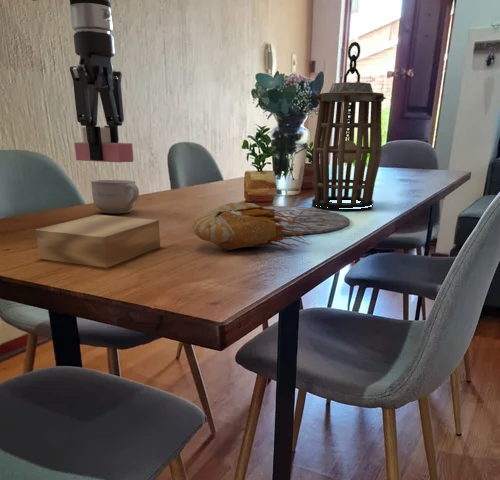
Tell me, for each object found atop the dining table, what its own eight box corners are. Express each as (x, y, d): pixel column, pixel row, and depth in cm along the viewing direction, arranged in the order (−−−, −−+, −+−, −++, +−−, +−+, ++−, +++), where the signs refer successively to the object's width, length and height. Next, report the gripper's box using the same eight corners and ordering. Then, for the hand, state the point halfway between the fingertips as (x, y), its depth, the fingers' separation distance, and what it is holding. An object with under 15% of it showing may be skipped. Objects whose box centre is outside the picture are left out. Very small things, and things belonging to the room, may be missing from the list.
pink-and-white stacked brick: (76, 160, 108) (72, 127, 105) (91, 158, 112) (88, 126, 109) (125, 162, 103) (123, 128, 101) (139, 161, 108) (137, 128, 105)
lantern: (387, 205, 144) (405, 43, 128) (363, 215, 129) (379, 33, 113) (324, 199, 153) (334, 48, 138) (295, 207, 138) (302, 39, 122)
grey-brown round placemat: (368, 214, 128) (368, 213, 128) (317, 241, 100) (317, 239, 100) (251, 204, 143) (251, 202, 142) (178, 224, 114) (178, 223, 114)
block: (39, 258, 87) (35, 229, 85) (99, 240, 100) (96, 214, 98) (107, 268, 82) (103, 237, 80) (160, 246, 95) (158, 220, 93)
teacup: (86, 212, 130) (83, 179, 127) (124, 207, 137) (121, 176, 134) (113, 219, 120) (110, 184, 117) (152, 214, 127) (150, 181, 124)
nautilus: (316, 247, 98) (293, 271, 85) (216, 231, 105) (180, 250, 92) (321, 206, 94) (297, 224, 82) (216, 192, 101) (179, 207, 89)
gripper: (78, 24, 90) (92, 163, 99) (136, 38, 105) (144, 157, 114) (44, 26, 92) (61, 161, 101) (105, 40, 108) (116, 156, 117)
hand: (105, 159), depth 108 cm, fingers closed on pink-and-white stacked brick, 5 cm apart
